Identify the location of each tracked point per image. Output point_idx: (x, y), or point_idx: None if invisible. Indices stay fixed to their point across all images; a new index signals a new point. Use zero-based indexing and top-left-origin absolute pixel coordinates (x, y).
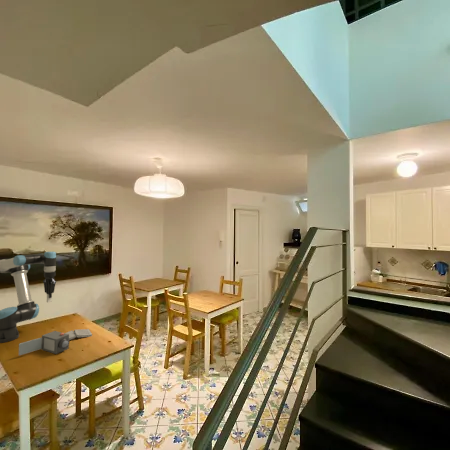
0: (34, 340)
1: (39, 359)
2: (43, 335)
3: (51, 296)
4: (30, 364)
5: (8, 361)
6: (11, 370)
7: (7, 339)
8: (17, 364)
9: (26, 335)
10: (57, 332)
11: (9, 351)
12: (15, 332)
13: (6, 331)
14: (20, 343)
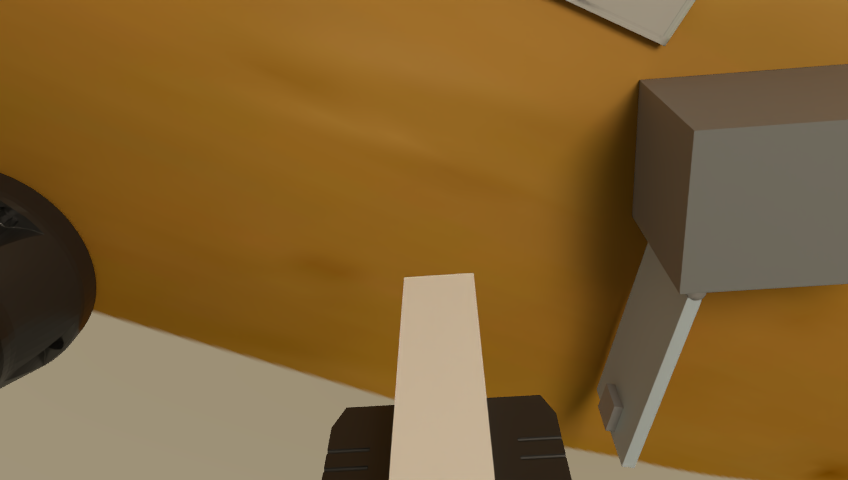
0: (675, 356)
1: (817, 317)
2: (700, 286)
3: (557, 438)
4: (825, 385)
5: (592, 436)
6: (770, 476)
7: (84, 307)
8: (718, 426)
9: (29, 112)
10: (793, 146)
11: (381, 365)
12: (17, 255)
13: (12, 357)
14: (629, 458)
